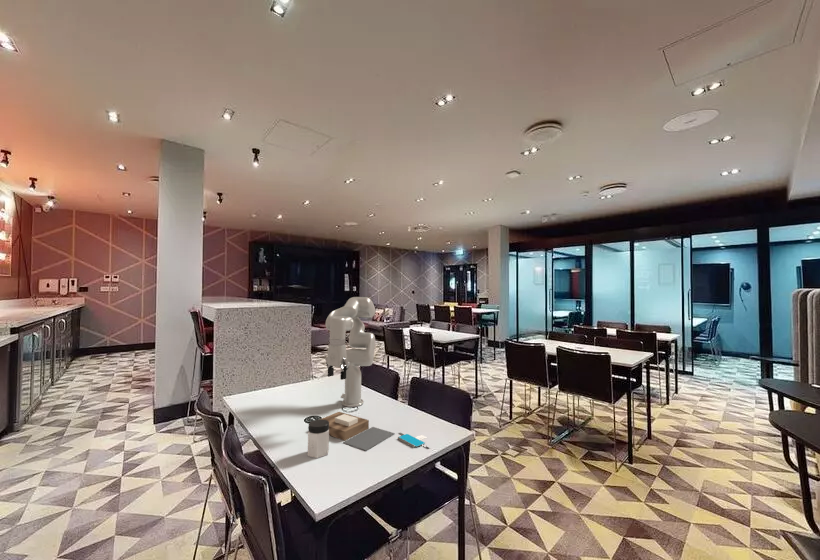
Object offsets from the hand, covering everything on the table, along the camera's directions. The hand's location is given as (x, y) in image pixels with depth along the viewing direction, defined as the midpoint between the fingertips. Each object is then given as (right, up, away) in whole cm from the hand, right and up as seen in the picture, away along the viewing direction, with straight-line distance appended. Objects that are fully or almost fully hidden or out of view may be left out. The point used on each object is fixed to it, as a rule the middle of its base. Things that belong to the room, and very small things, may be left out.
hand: (336, 377), depth 163 cm
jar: (-1, -23, -28) cm, 36 cm away
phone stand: (+38, -24, -16) cm, 48 cm away
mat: (+18, -23, -15) cm, 33 cm away
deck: (+3, -23, -5) cm, 24 cm away
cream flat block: (+6, -19, -6) cm, 21 cm away
